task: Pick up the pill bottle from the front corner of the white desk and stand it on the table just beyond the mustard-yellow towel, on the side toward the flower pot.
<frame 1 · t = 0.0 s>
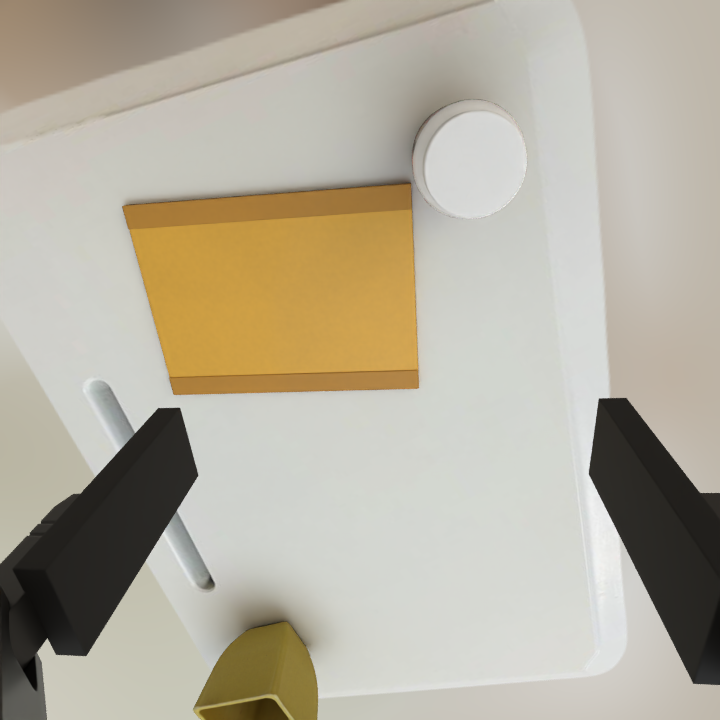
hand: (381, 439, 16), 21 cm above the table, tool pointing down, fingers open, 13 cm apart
flower pot: (279, 637, 54), on the table
pill bottle: (457, 154, 32), on the table
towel: (279, 299, 37), on the table
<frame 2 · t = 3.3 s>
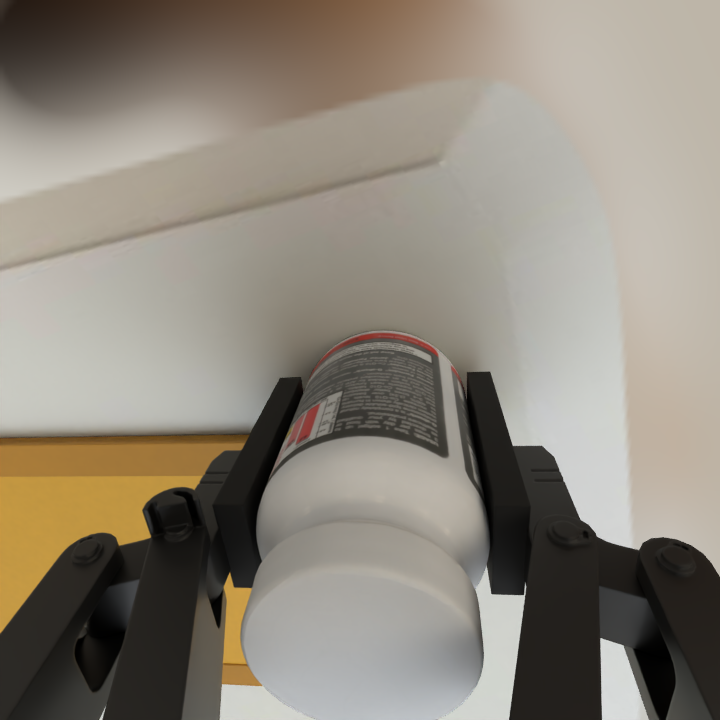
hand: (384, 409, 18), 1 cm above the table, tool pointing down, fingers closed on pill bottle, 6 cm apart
pill bottle: (386, 395, 18), on the table, touching gripper
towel: (125, 568, 24), on the table
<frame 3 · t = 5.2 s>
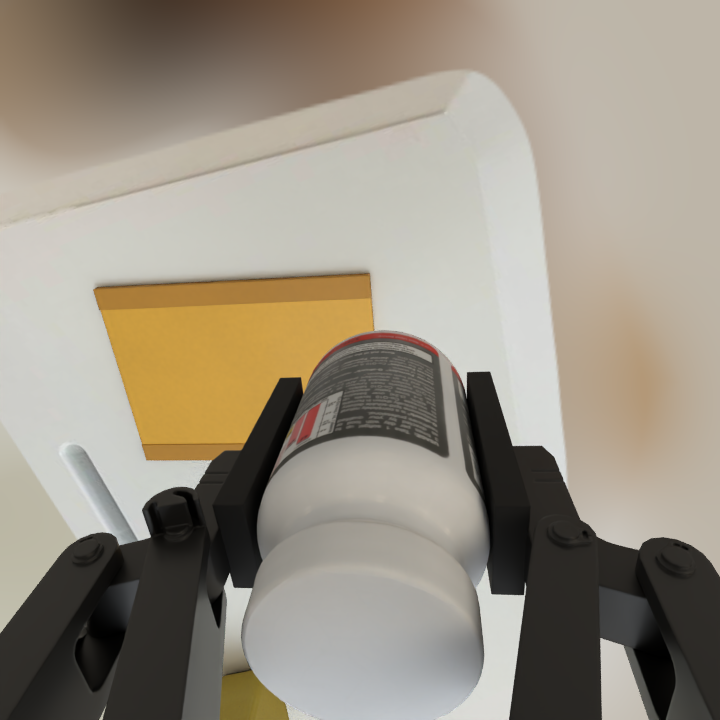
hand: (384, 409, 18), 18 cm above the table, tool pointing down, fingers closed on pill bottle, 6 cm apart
flower pot: (254, 683, 55), on the table
pill bottle: (386, 394, 18), point 17 cm above the table, touching gripper
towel: (247, 375, 38), on the table
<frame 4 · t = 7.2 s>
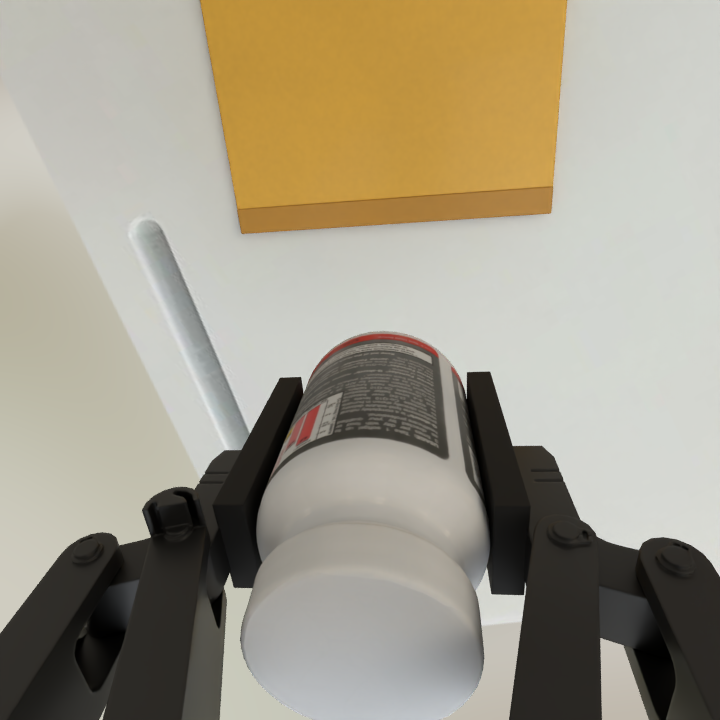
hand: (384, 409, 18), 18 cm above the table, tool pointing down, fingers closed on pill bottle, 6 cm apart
pill bottle: (386, 395, 18), point 17 cm above the table, touching gripper
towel: (383, 93, 29), on the table
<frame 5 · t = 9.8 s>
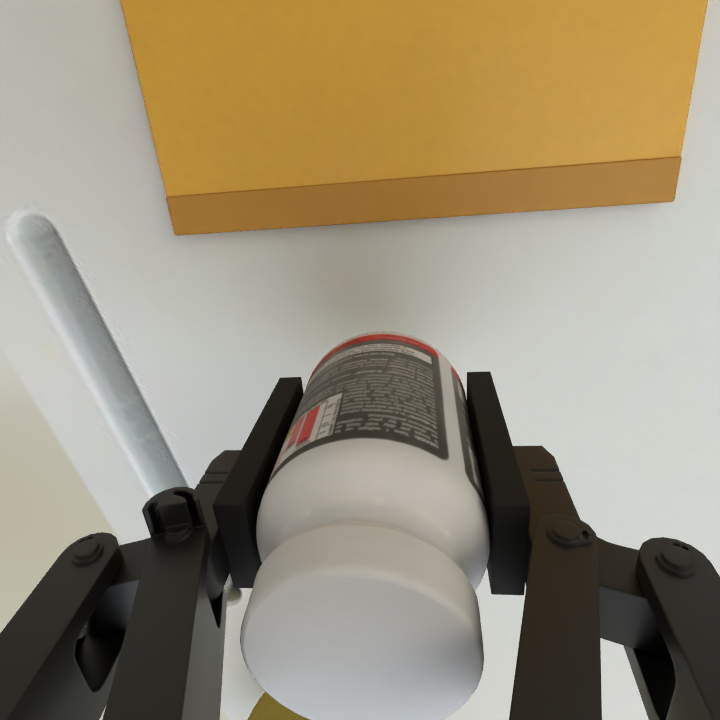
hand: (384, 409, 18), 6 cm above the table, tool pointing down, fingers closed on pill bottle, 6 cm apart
flower pot: (340, 676, 34), on the table
pill bottle: (386, 396, 18), point 5 cm above the table, touching gripper
when the fingers open (1 cm above the table, at t = 11.4 s): pill bottle stays where it is, on the table.
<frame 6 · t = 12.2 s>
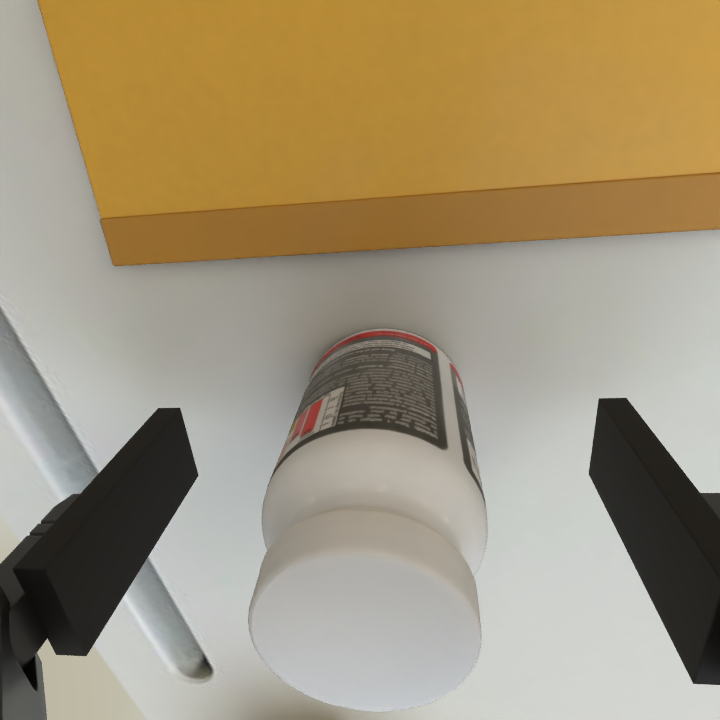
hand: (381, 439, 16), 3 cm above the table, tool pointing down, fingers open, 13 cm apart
pill bottle: (386, 391, 19), on the table
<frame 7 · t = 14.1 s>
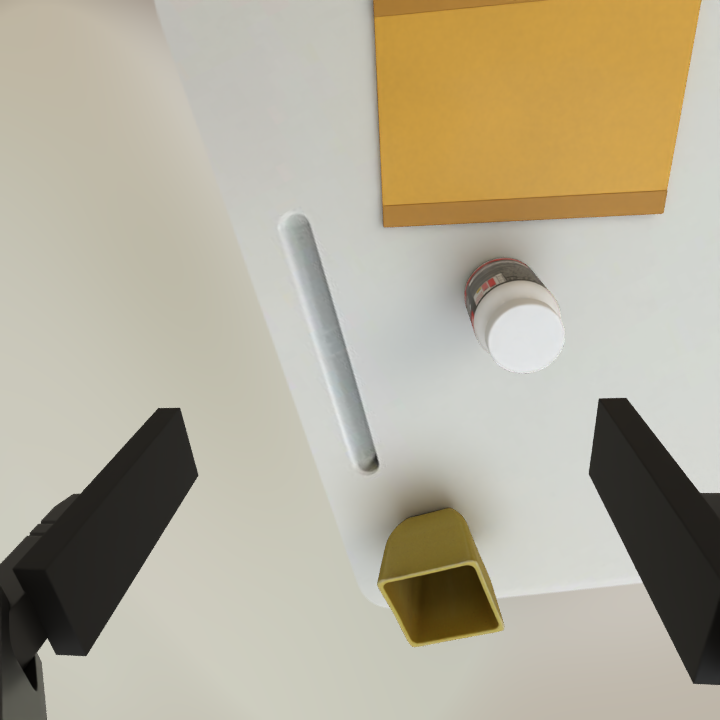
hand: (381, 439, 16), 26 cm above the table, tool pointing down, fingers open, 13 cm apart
flower pot: (436, 529, 51), on the table
pill bottle: (499, 291, 40), on the table
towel: (524, 107, 34), on the table
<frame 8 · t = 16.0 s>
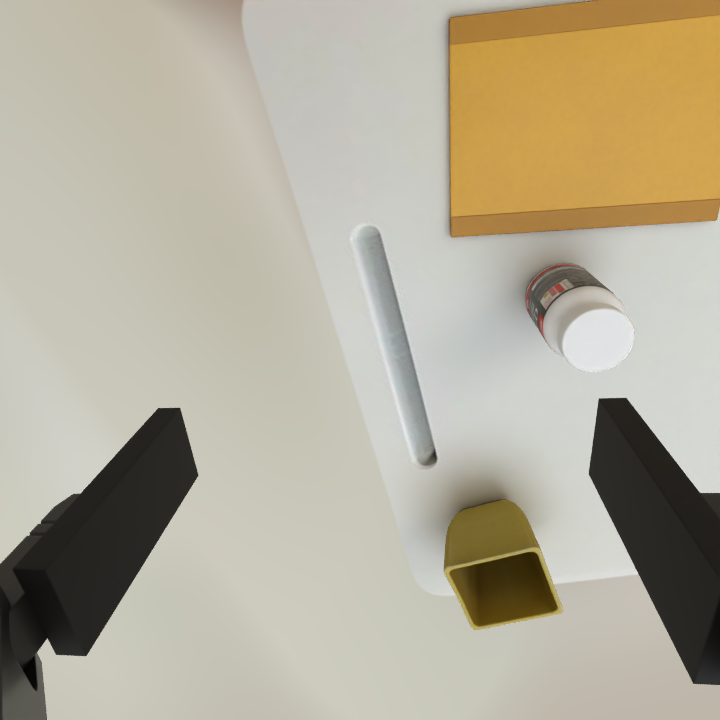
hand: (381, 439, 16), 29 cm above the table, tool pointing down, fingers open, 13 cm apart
flower pot: (490, 519, 53), on the table
pill bottle: (558, 294, 42), on the table
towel: (587, 124, 37), on the table
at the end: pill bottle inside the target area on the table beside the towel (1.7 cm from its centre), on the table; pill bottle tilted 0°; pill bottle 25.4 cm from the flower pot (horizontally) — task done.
